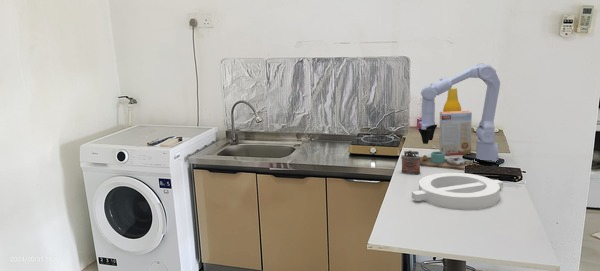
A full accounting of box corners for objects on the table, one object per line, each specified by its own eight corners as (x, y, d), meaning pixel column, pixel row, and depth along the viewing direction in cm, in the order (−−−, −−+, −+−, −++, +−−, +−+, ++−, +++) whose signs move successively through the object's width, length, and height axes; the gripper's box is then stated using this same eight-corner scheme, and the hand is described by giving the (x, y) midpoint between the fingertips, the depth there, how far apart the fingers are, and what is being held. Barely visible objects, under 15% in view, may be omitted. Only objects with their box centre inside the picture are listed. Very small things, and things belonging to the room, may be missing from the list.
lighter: (400, 173, 200) (400, 150, 198) (402, 171, 203) (402, 149, 201) (419, 175, 196) (419, 152, 194) (421, 172, 199) (421, 150, 197)
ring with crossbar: (504, 189, 175) (504, 177, 174) (492, 215, 152) (493, 201, 151) (430, 180, 190) (430, 169, 189) (409, 203, 166) (409, 190, 165)
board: (471, 163, 209) (471, 155, 209) (465, 170, 199) (466, 162, 198) (421, 158, 221) (421, 151, 220) (413, 165, 211) (413, 157, 210)
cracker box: (467, 151, 228) (469, 110, 224) (471, 155, 223) (472, 112, 218) (438, 152, 230) (439, 111, 225) (441, 155, 224) (441, 113, 220)
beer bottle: (438, 141, 252) (439, 88, 246) (452, 139, 256) (453, 86, 250) (450, 144, 244) (452, 90, 238) (464, 142, 248) (465, 88, 241)
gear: (446, 160, 212) (446, 152, 211) (443, 164, 207) (443, 155, 206) (432, 159, 215) (432, 150, 214) (428, 162, 210) (428, 154, 209)
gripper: (423, 109, 218) (423, 137, 221) (414, 115, 206) (414, 144, 209) (438, 110, 215) (438, 138, 218) (430, 115, 203) (430, 145, 205)
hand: (427, 141), depth 213 cm, fingers open, 7 cm apart
